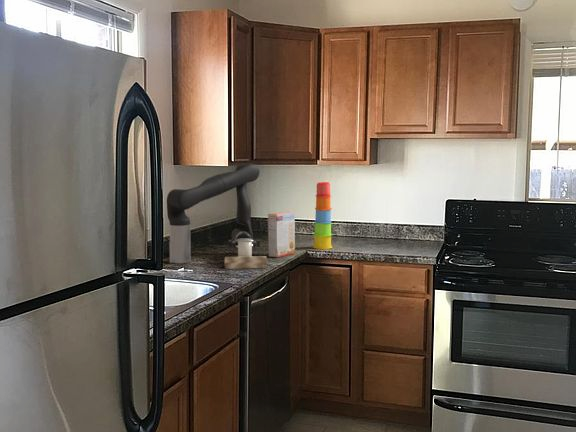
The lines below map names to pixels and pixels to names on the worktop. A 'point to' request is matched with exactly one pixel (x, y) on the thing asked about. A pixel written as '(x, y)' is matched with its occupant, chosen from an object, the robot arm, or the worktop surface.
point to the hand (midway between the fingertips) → (244, 245)
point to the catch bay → (246, 262)
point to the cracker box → (281, 234)
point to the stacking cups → (323, 217)
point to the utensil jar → (244, 247)
